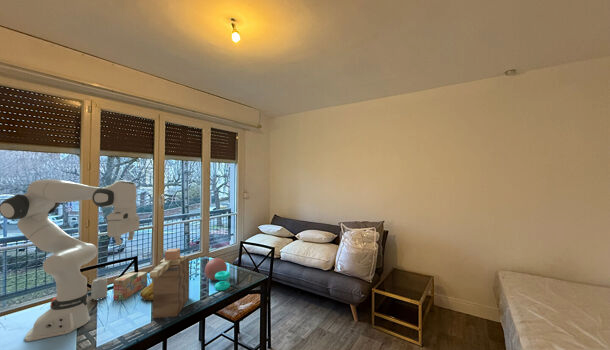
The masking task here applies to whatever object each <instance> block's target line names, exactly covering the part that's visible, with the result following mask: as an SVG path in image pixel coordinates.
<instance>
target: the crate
mask: <svg viewBox="0 0 610 350" xmlns="http://www.w3.org/2000/svg"><path fill="white" fill-rule="evenodd" d="M180 256H181V248H179V247H178V248H168V249H166V250H165V251H164V258H165V260H177V259H178V258H179V257H180Z"/></svg>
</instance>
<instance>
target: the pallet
mask: <svg viewBox="0 0 610 350" xmlns="http://www.w3.org/2000/svg"><path fill="white" fill-rule="evenodd" d="M185 256H186V255H180V257H179V258H178V259H177V260H165V257H164V258H163V259H161V260H160V261H159V262H158V265H159V266H158V265H157V266H158V267H156V266H155V267H156V268H155V267H154V268H155V269H154V268H153V269H154V270H153V269H151V271H150V272H149V279H150V280H151V279H152V280H153V279H154V278H158V277H159V276H160V275H161V274H162V273H163V272H164V271H166V270H167V269H168V268H169V267H170V266H171V265H179V264H180V263H181V262H182V261H183V260H184V259H185Z"/></svg>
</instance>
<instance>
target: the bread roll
mask: <svg viewBox="0 0 610 350" xmlns="http://www.w3.org/2000/svg"><path fill="white" fill-rule="evenodd" d="M140 290H141V291H140V293H139V295H140V297H141V298H142V299H143V300H144V301H153V281H152V282H150V284H147V286H145V287H143V288H142V289H140Z"/></svg>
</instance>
